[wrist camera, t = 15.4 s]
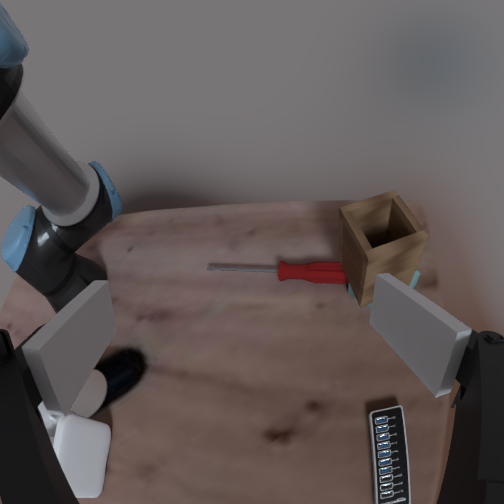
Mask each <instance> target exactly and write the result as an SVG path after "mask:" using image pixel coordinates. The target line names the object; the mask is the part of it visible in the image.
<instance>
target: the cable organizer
mask: <svg viewBox="0 0 504 504" xmlns="http://www.w3.org/2000/svg"><path fill="white" fill-rule="evenodd" d="M38 409H39V411H40V413H41V415H42V418H43V421H44V424H45V427H46V430H47V433H48V435H49V438H50V441H51V443H52V446H53V448H54V451H55V453H56V456H57V458H58V461H59V463H60V465H61V467H62V470H63V472H64V474H65V476H66V478H67V481H68V483H69V485H70V487H71V489H72V491H73V493H74V495H75V497H78V498H96V497H98V496H99V495H100V493H101V491H102V488H103V485H104V478H105V468H106V462H107V456H108V452H109V447H110V441H111V430H110V427H109V426H108V425H107V424H105V423H102V422H99V421H96V420H92V419H89V418H86V417H82V416H79V415H77V414H76V413H74V412H72V411H70V410H69V411H68V413H67V415H66V417H62V416H58V415H54V414H49V413H48V412H47V410H46V408H45V405H44V403H43V401H42V402H41V403H40V405H39V406H38Z"/></svg>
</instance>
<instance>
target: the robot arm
mask: <svg viewBox="0 0 504 504" xmlns="http://www.w3.org/2000/svg"><path fill="white" fill-rule="evenodd" d="M28 52H29V47H28V44H27V42H26V41H25V39H24V37H23V35H22V34H21V32H20V30H19V29H18V28H17V26H16V25H15V23H14V22H13V21H12V19H11V18H10V16H9V15H8V13H7V11H6V10H5V8H4V7H3V6H2V4H1V3H0V176H1V177H2V178H3V179H5V180H6V181H8V182H9V183H10V184H12V185H13V186H15V187H16V188H18V189H19V190H20V191H22V192H23V193H25V194H26V195H28V196H29V197H31V198H32V199H34V200H35V201H37V202H38V203H39V204H41V205H40V206H39V207H38V208H37V209H35V208H34V207H33V206H31V205H28V206H26V207H25V208H23V209H22V210H21V211H20V212H19V213H18V214H17V215H16V217H15V218H14V219H13V221H12V222H11V224H10V226H9V227H8V229H7V231H6V233H5V236H4V238H3V241H2V245H1V256H2V258H3V260H4V261H5V262H6V263H7V264H8V266H9V267H10V268H11V269H12V270H13V271H14V272H16V273H17V274H18V275H19V276H20V277H22V278H23V279H24V280H25V281H26V282H28V283H29V284H30V285H31V286H33V287H34V288H35V289H36V290H37V291H39V292H40V293H41V294H43V295H44V296H45V297H46V298H47V300H48V301H49V303H50V305H51V306H52V308H53V309H54V311H55V312H56V315H55V316H54V317H53V318H52V319H51V320H49V321H48V322H47V323H46V324H44V325H42V326H40V327H38V328H37V329H36V330H35V331H34V332H33V333H32V334H31V335H30V336H29V337H28V338H27V339H26V340H25V341H23V342H22V343H21V344H20V345H19V346H18V347H17V348H16V349H15V350H14V347H13V344H12V341H11V338H10V335H9V333H8V331H7V330H4V329H0V496H1V500H2V504H79V502H78V500H77V498H76V497H75V495H74V493H73V491H72V489H71V487H70V485H69V483H68V481H67V478H66V476H65V474H64V472H63V470H62V467H61V465H60V463H59V461H58V458H57V456H56V453H55V451H54V448H53V446H52V443H51V441H50V438H49V435H48V433H47V430H46V427H45V424H44V421H43V418H42V415H41V413H40V411H39V409H38V406H39V405H40V403H41V402H42V401H43V403H44V405H45V408H46V410H47V412H48V413H49V414H54V415H58V416H62V417H66V415H67V413H68V411H69V409H70V408H71V406H72V404H73V402H74V401H75V399H76V397H77V396H78V394H79V392H80V390H81V389H82V387H83V385H84V384H85V382H86V380H87V379H88V377H89V375H90V374H91V372H92V370H93V369H94V367H95V365H96V364H97V362H98V361H99V359H100V357H101V356H102V354H103V353H104V351H105V349H106V348H107V346H108V345H109V343H110V342H111V340H112V338H113V337H114V335H115V334H116V332H117V329H116V324H115V318H114V313H113V307H112V301H111V295H110V288H109V281H108V280H107V276H106V273H105V271H104V270H103V269H102V268H101V267H100V266H99V265H98V264H97V263H95V262H94V261H91V260H89V259H87V258H85V257H82V256H80V255H78V254H76V253H75V251H76V250H77V249H79V248H80V247H81V246H82V245H83V244H84V243H85V242H87V241H88V240H89V239H90V238H91V237H92V236H94V235H95V234H96V233H97V232H98V231H100V230H101V229H102V228H103V227H104V226H106V225H107V224H108V223H110V222H112V221H113V220H114V218H115V217H116V216H117V215H119V213H121V211H122V209H123V203H122V200H121V198H120V196H119V194H118V192H117V191H116V190H115V187H114V185H113V183H112V181H111V179H110V178H109V176H108V175H107V173H106V172H105V170H104V169H103V167H102V166H101V165H100V164H99V163H98V162H96V161H93V162H91V163H88V164H86V163H85V162H81V161H75V160H74V159H73V158H72V157H71V155H70V154H69V153H68V151H67V150H66V149H65V148H64V147H63V145H62V144H61V143H60V142H59V140H58V139H57V138H56V136H55V135H54V134H53V133H52V131H51V130H50V129H49V128H48V126H47V125H46V123H45V122H44V121H43V120H42V118H41V117H40V116H39V114H38V113H37V112H36V110H35V109H34V108H33V106H32V105H31V104H30V102H29V101H28V99H27V98H26V97H25V95H24V94H23V92H22V91H21V88H22V84H23V81H24V68H23V66H22V64H21V63H22V62H23V60H24V58H25V57H26V56H27V55H28ZM369 324H370V325H371V326H372V327H373V328H374V329H375V330H376V331H377V332H378V333H379V334H380V335H381V337H382V338H383V339H384V340H385V341H386V342H387V343H388V344H389V345H390V346H391V347H392V349H393V350H394V351H395V352H396V353H397V354H398V355H399V356H400V357H401V358H402V360H403V361H404V362H405V363H406V364H407V365H408V366H409V367H410V369H411V370H412V371H413V372H414V373H415V374H416V375H417V376H418V378H419V379H420V380H421V381H422V382H423V383H424V384H425V385H426V387H427V388H428V389H429V390H430V391H431V392H432V393H433V395H434V396H435V397H438V396H441V395H444V394H447V393H450V392H451V389H452V387H453V384H454V382H455V379H456V380H457V381H458V382H459V383H460V384H461V385H460V387H459V390H458V392H457V394H456V397H455V399H454V402H453V404H452V406H451V408H454V405H455V404H456V412H455V419H454V427H453V433H452V440H451V445H450V450H449V456H448V461H447V465H446V470H445V474H444V478H443V482H442V486H441V490H440V494H439V498H438V501H437V504H504V337H503V336H502V335H500V334H498V333H496V332H492V331H482V332H480V333H477V332H476V331H474V330H473V329H471V328H470V327H468V326H467V325H466V324H464V323H462V322H461V321H460V320H458V319H456V318H455V317H454V316H453V315H451V314H450V313H448V312H446V311H445V310H444V309H442V308H441V307H439V306H438V305H436V304H435V303H433V302H432V301H430V300H429V299H427V298H426V297H424V296H423V295H421V294H420V293H418V292H417V291H415V290H414V289H412V288H411V287H409V286H408V285H406V284H405V283H403V282H402V281H400V280H398V279H397V278H395V277H394V276H392V275H391V274H389V273H383V274H376V278H375V286H374V294H373V301H372V308H371V315H370V321H369Z"/></svg>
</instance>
